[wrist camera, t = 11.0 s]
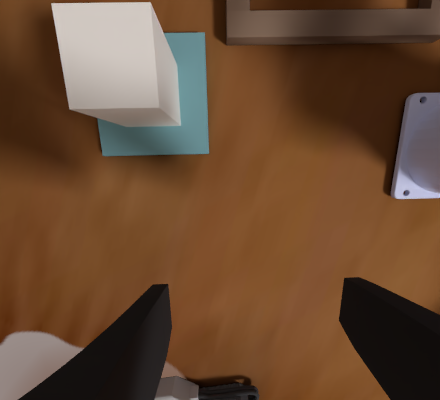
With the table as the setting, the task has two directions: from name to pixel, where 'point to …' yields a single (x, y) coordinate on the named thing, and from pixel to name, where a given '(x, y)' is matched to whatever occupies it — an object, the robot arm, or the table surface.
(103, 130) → the mat
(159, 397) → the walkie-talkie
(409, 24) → the brown square frame
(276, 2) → the table surface
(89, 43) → the cream block
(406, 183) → the robot arm
